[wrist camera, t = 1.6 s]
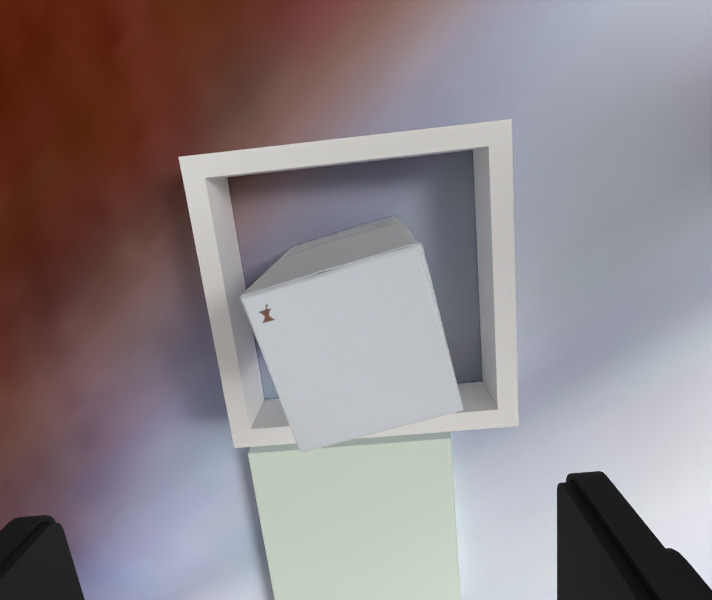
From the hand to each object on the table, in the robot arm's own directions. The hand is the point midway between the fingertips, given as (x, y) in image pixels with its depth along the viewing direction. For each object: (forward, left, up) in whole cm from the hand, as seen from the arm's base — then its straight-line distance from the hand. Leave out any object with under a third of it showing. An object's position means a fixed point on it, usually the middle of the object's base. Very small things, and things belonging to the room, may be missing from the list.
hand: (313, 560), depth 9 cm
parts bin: (0, 0, -23) cm, 23 cm away
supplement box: (0, 0, -23) cm, 23 cm away
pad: (+2, +18, -23) cm, 29 cm away
